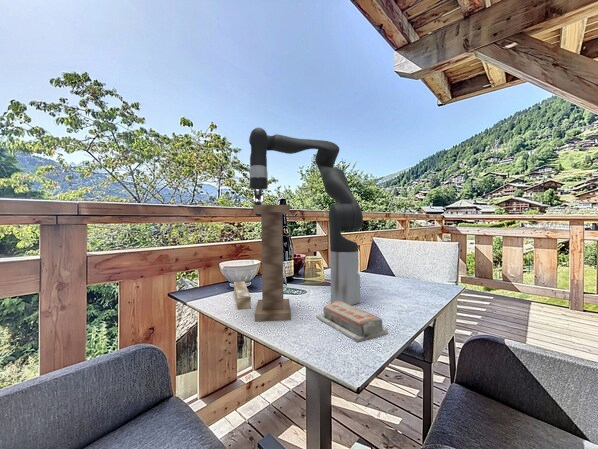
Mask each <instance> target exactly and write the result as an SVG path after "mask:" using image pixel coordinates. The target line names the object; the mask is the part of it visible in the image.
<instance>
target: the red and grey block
mask: <svg viewBox="0 0 598 449" xmlns="http://www.w3.org/2000/svg"><path fill="white" fill-rule="evenodd" d="M322 312H323V313H319V315H318V314H316V315H315V318H316V319H318V320H319V321H320V322H324V324H326V325H328V326H329V327H331V328H332V329H334V330H335V331H337V332H339V333H341V334H343V335H345V336H346V337H348V338H350V339H351V340H353V341H354V342H356V343H360V342H363V341H367V340H371V339H374V338H378V337H381V336H385V335H388V334H389V331H388V328H387V327H385V326H383V320H382V318H381V317H379V316H377V315H374V314H372V313H370V312H367V311H365V310H363V309H360V308H358V307H356V306H354V305H349V304H347V303H344V302H341V301H334V302H333V303H332V302H331V303H328V304H326V305H325V306H324V307H323V311H322Z"/></svg>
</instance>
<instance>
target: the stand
mask: <svg viewBox="0 0 598 449" xmlns="http://www.w3.org/2000/svg"><path fill="white" fill-rule="evenodd" d="M290 207H291V205H290V204H263V205H255V204H253V208H252V211H253V213H254V214H255V215H256V214H261V273H262V274H261V284H262V286H261V289H262V290H261V292H262V297H261V298H262V299H258V300H257V303H256V307H255V310H254V322H274V321H275V322H276V321H277V322H279V321H292V312H291V304H290V299H289V298H284V247H283V246H284V243H283V242H284V238H283V237H284V233H283V232H284V231H283V228H284V227H283V215H288V214H290V212H291V208H290Z"/></svg>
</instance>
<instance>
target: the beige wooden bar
mask: <svg viewBox="0 0 598 449" xmlns="http://www.w3.org/2000/svg"><path fill="white" fill-rule="evenodd" d="M233 292H234V297H235V302H236V308H237V311H240V310H249V309H252V307H251V306H252V302H251V301H252V296H251V294H250V292H249V289H248V288H247V284H246V282H245V281H234V282H233Z"/></svg>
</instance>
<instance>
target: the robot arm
mask: <svg viewBox="0 0 598 449" xmlns="http://www.w3.org/2000/svg"><path fill="white" fill-rule="evenodd" d="M248 142H249V144H250V156H249V189H250V190H253V191H254V193H253V201H254V204H253V205H264V197H265V195H264V193H263V191H265V190H268V188H269V185H268V184H269V181H268V179H269V178H268V175H269V174H268V162H267V161H268V157H267V155H268V154H267V152H269V151H270V152H271V151H274V152H278V153H281V154H282V153H283V154H289V155H292V154H298V153H301V152H303V151H306V150H307V151H308V150H317V151H316V153H315V154H316V155H315V158H314V160H315V161H314V162H315V165H316V166H317V169H318V170H319V171H318V172H320V175H321V176H320V177H321V179H322V184H323V187H324V191H325V193H326V194H327V195H328V196H329V197H331V199H333V200H335V201H336V202H337V203H334V204H331V205H330V207H329V209H328V224H329V226H328V227H329V250H330V251H329V252H330V254H329V255H330V302H331V303H333V302H334V301H341V302H344V303H347V304H349V305H351V306H354V305H356V304H361V274H360V273H359V253H358V252H359V250H358V249H359V246H358V243H357V242H356V241H353V240H349V239H348V238H346V237H344V236H343V235H342V232H353V231H354V232H355V231H358V230H360V229H361V228H362V227H363V224H364V217H363V216H364V215H363V212H362V208H361V207H360V205H359V203H358V201H357V199H356V198H355V196H354V194H353V192H352V189H351V187H350V185H349V182H348V179H347V177H346V175H345V172H344V171H343V170H342V169H341V168H338V167H335V162H336V161H337V157H338V155H339V153H340V147H339V146H338V144H336V143H335V142H333V141H329V140H323V139H321V140H320V139H309V138H297V137H293V136H287V135H282V134H279V133H278V134H274V135H268V133H267V131H266V130H265V129H264V128H262V127H255V128H254V129H253V130H252V131H251V132H250V135H249V139H248ZM255 216H256V217H261V214H256V213H255Z"/></svg>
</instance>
